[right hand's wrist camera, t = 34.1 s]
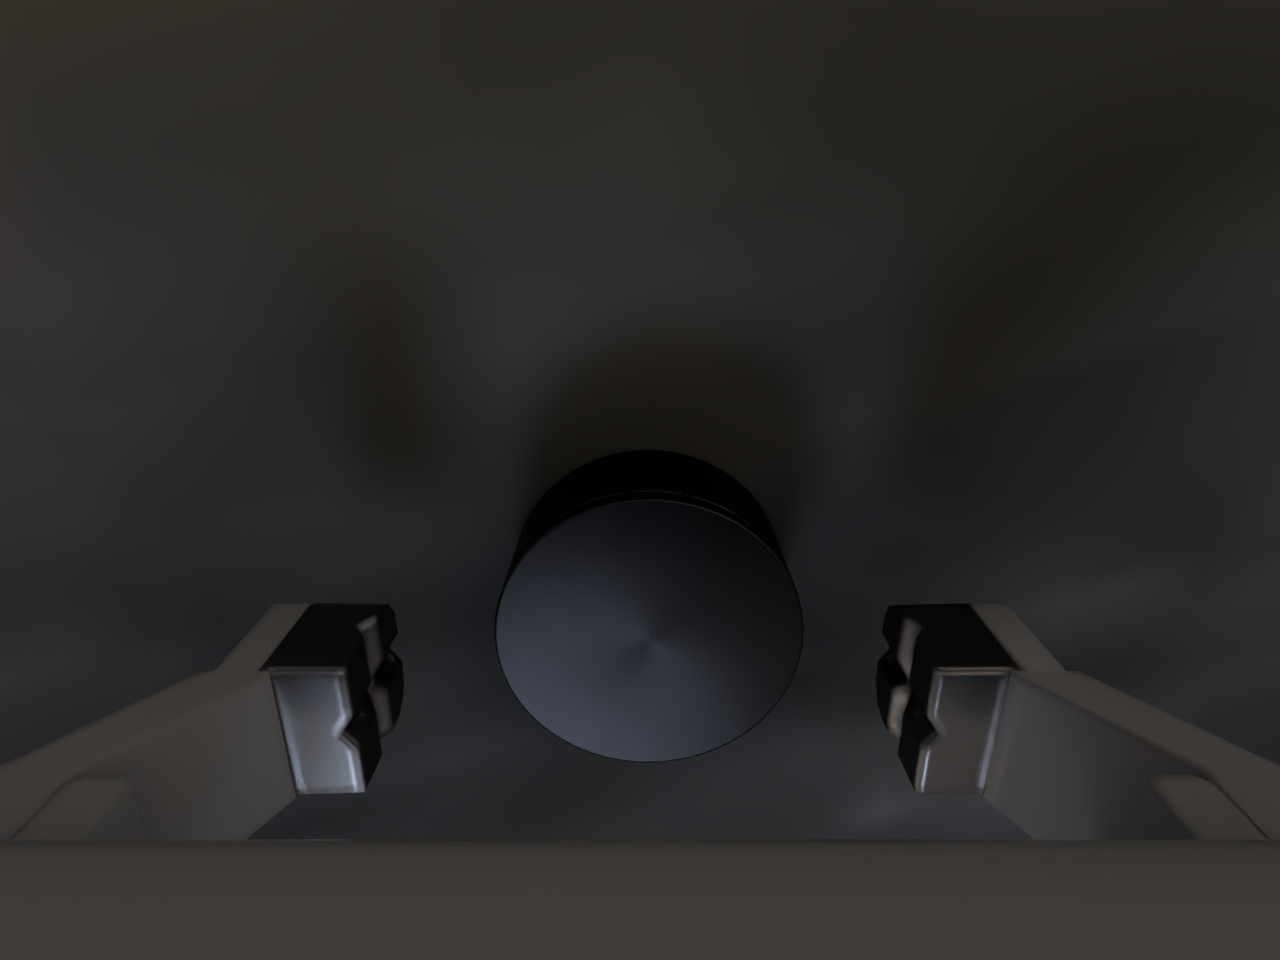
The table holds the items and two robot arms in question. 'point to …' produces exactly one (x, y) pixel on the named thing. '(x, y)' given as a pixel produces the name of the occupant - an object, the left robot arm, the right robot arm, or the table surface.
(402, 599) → the table surface
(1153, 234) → the table surface
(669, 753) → the cap
